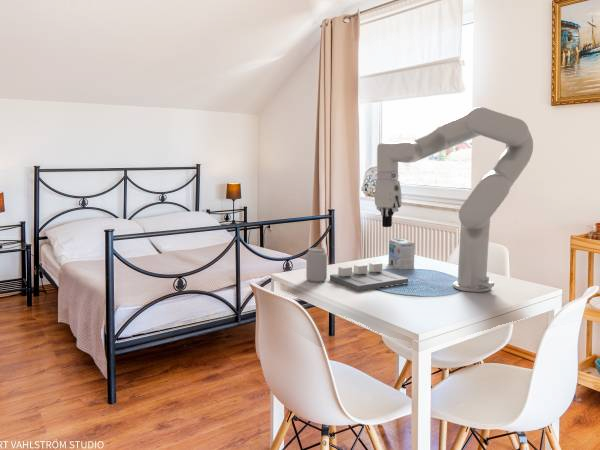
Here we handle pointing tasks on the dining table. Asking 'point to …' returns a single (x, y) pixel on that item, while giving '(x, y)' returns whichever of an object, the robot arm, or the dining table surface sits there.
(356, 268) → the handle
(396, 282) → the breaker panel
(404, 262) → the light bulb box
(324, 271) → the can
